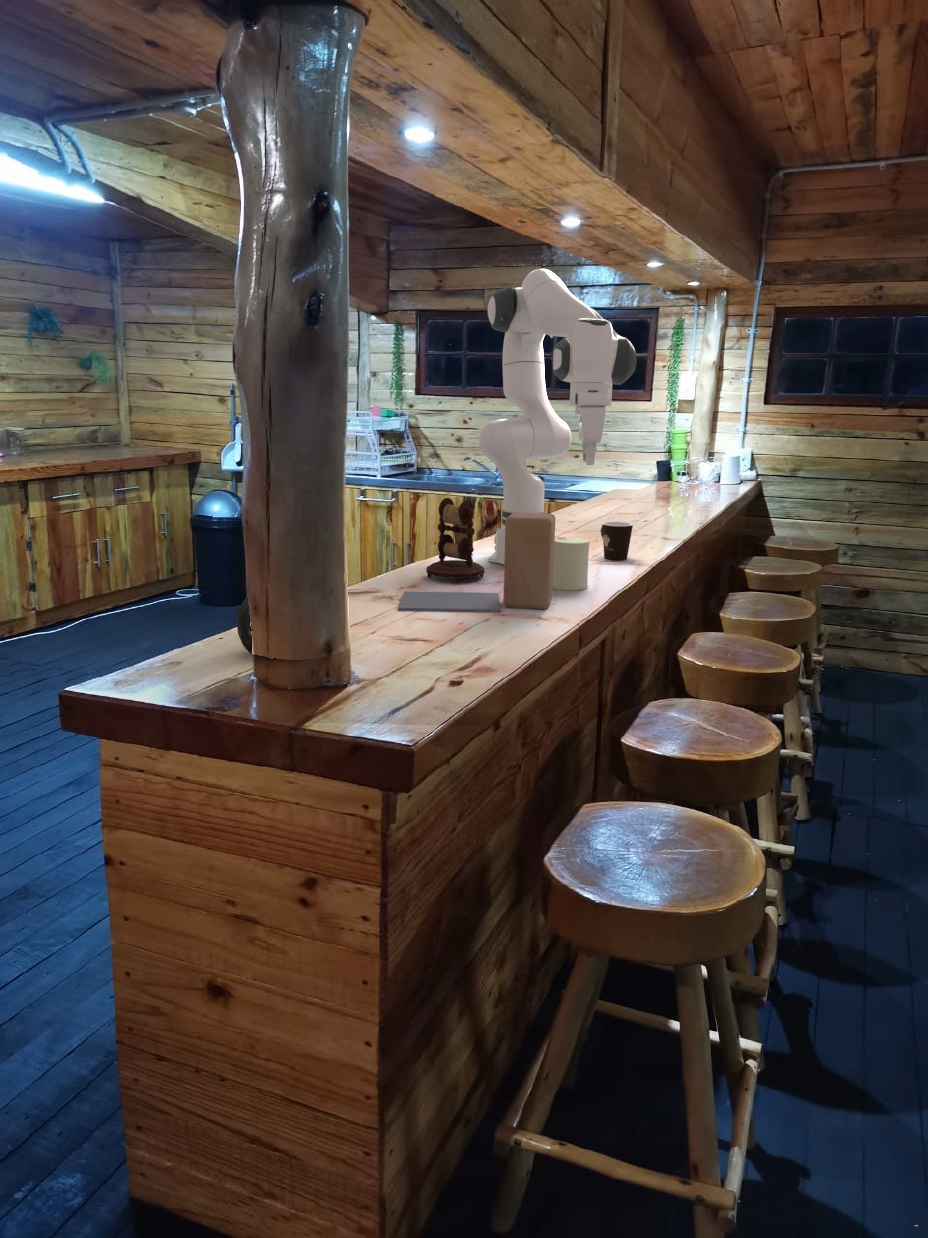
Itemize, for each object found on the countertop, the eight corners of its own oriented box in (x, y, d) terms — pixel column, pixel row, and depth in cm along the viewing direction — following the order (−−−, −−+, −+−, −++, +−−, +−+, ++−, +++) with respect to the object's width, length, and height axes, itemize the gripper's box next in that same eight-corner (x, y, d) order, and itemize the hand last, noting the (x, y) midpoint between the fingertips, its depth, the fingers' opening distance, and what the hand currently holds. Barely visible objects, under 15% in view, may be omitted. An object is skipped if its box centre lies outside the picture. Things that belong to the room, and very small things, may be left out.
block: (547, 610, 195) (551, 519, 190) (502, 607, 197) (504, 517, 192) (552, 600, 204) (556, 513, 199) (509, 597, 206) (511, 511, 201)
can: (566, 580, 225) (568, 533, 222) (595, 586, 219) (597, 538, 216) (542, 586, 219) (543, 537, 216) (571, 592, 213) (573, 542, 210)
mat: (404, 593, 209) (404, 591, 209) (498, 595, 208) (498, 592, 208) (398, 610, 193) (398, 607, 193) (500, 612, 193) (500, 609, 193)
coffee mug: (633, 561, 251) (635, 526, 248) (602, 561, 251) (604, 525, 248) (626, 554, 262) (628, 520, 260) (597, 553, 262) (598, 519, 260)
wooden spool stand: (496, 577, 228) (498, 499, 222) (457, 586, 217) (458, 504, 212) (453, 569, 237) (454, 494, 232) (414, 577, 226) (414, 498, 221)
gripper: (573, 397, 201) (571, 460, 204) (578, 396, 181) (576, 465, 184) (601, 397, 200) (599, 460, 203) (609, 396, 180) (607, 466, 183)
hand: (588, 463), depth 193 cm, fingers open, 8 cm apart
